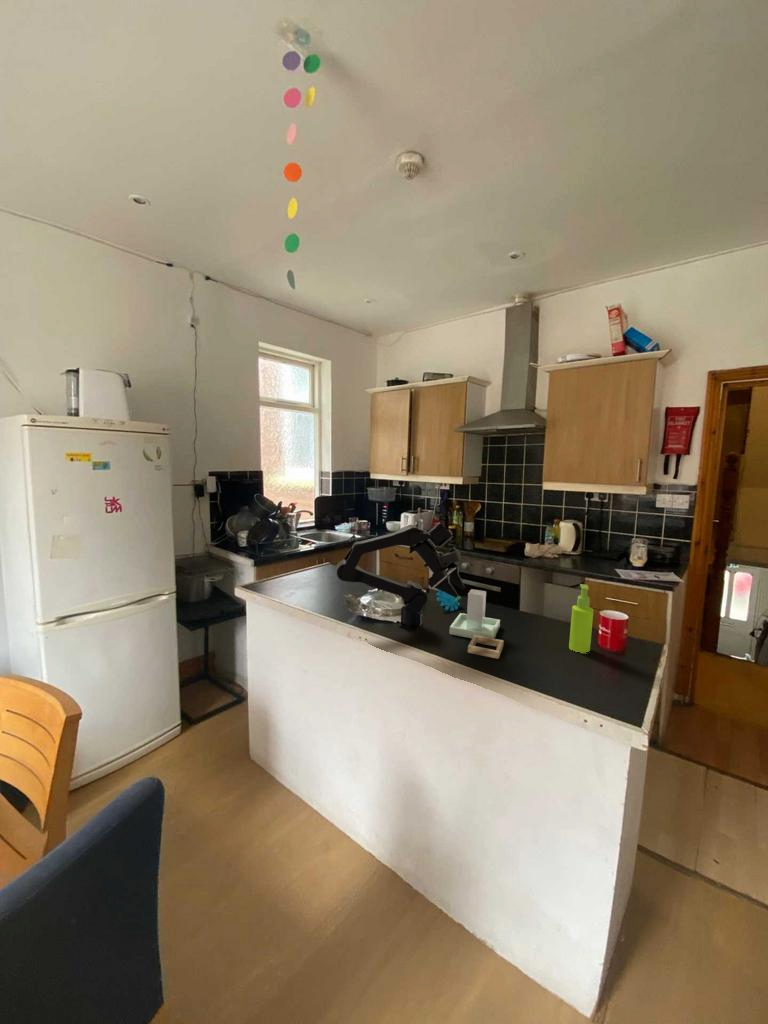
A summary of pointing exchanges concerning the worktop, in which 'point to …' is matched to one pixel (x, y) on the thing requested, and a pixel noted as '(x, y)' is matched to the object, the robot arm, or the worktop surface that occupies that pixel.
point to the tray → (460, 630)
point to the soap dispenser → (581, 623)
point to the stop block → (476, 610)
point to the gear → (448, 600)
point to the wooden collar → (485, 651)
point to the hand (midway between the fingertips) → (460, 592)
